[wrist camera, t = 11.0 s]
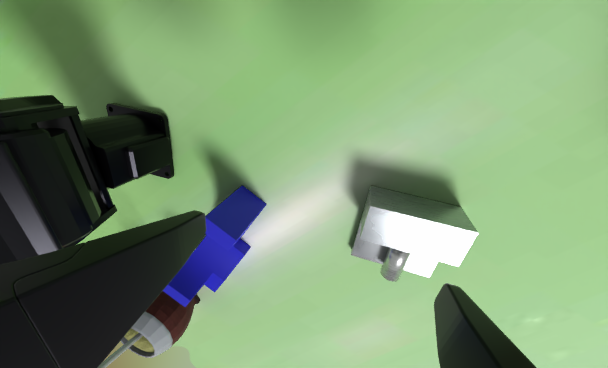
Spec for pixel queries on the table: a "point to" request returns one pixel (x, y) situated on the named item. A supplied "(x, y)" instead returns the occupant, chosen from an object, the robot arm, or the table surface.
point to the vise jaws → (411, 233)
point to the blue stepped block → (217, 246)
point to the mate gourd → (156, 328)
